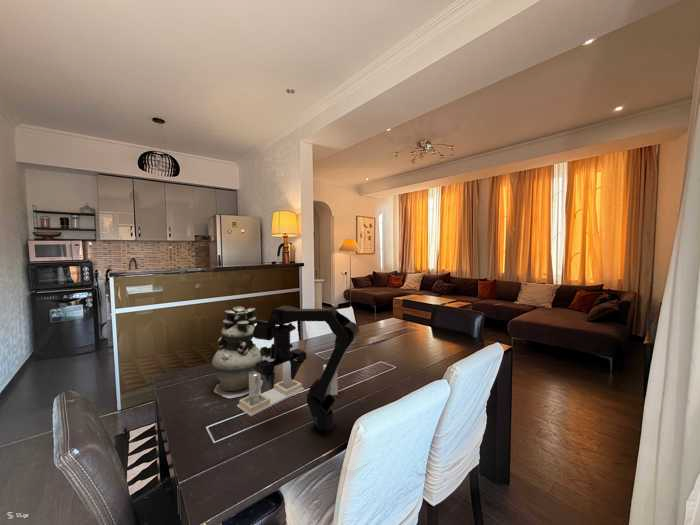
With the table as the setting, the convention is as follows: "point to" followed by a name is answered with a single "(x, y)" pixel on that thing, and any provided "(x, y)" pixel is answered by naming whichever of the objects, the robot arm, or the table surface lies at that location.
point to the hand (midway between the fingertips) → (282, 384)
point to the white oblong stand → (273, 393)
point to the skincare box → (333, 383)
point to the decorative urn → (236, 353)
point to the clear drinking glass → (254, 388)
